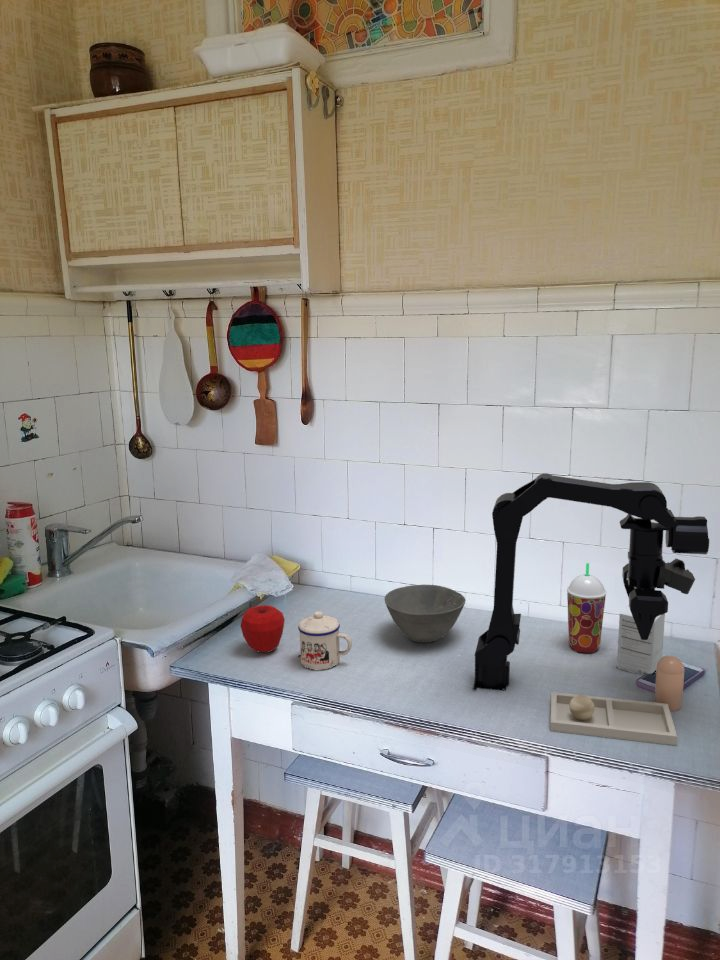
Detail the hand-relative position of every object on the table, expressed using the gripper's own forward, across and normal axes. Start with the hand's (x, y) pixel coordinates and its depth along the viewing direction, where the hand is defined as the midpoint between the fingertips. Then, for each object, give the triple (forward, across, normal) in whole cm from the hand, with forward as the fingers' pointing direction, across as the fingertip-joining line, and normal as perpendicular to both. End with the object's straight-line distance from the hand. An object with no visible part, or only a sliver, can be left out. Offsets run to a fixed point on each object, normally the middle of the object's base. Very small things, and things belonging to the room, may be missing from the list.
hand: (641, 629), depth 137 cm
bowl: (+14, +19, +45) cm, 51 cm away
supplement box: (+15, +14, -2) cm, 20 cm away
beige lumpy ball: (+14, -10, +11) cm, 21 cm away
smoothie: (+15, +21, +9) cm, 27 cm away
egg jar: (+15, -2, -5) cm, 16 cm away
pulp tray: (+14, -10, +6) cm, 19 cm away
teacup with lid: (+14, +2, +64) cm, 66 cm away
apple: (+14, +5, +80) cm, 82 cm away
